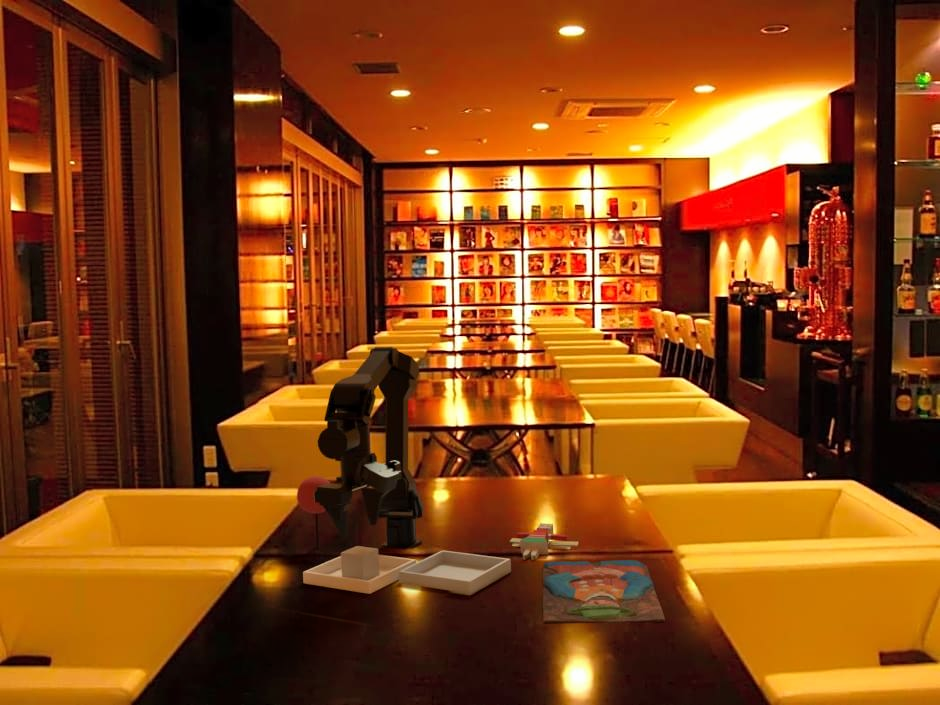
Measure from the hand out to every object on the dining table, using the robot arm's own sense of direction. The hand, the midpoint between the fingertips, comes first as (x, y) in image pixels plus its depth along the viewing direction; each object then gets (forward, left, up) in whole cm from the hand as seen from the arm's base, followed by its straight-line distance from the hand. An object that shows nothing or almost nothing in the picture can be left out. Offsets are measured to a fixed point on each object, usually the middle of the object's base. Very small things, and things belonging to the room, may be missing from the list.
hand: (358, 530), depth 192 cm
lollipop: (-14, -22, -9) cm, 28 cm away
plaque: (-10, +44, -10) cm, 46 cm away
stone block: (0, 0, -9) cm, 9 cm away
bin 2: (-7, +16, -9) cm, 20 cm away
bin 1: (0, 0, -9) cm, 9 cm away
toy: (-30, +22, -10) cm, 39 cm away
